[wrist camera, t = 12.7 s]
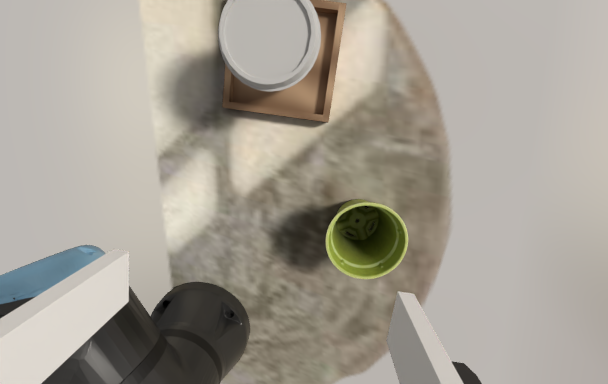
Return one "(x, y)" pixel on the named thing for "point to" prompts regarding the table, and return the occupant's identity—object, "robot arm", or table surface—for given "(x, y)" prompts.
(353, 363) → the table surface
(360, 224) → the plant pot
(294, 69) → the disposable coffee cup
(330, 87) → the tray
